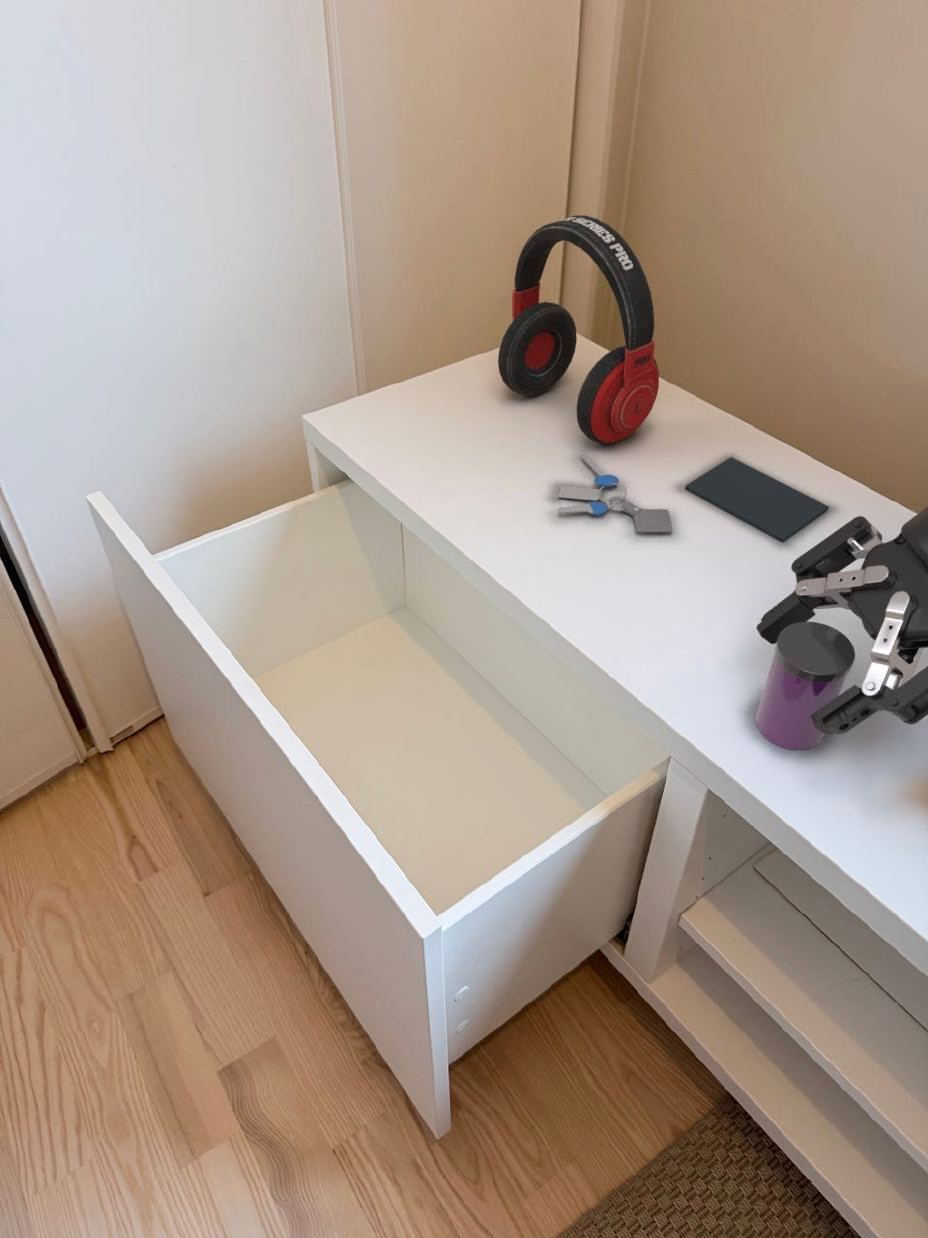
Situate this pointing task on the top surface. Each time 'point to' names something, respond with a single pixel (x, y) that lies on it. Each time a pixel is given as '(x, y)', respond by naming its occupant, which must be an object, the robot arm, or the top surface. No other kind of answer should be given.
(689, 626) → the top surface
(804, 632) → the tin
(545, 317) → the headphones
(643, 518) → the key chain
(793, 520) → the mat
